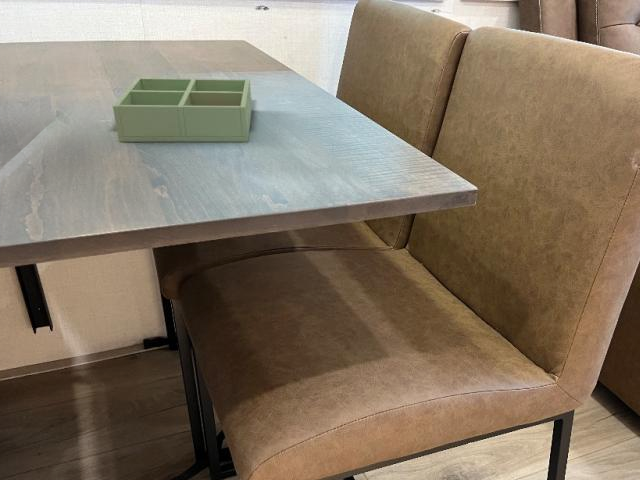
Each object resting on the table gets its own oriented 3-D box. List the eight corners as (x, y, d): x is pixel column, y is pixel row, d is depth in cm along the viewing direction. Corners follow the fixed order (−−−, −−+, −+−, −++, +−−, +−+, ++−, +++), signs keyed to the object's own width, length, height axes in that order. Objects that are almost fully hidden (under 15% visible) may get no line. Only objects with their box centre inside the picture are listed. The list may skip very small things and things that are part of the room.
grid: (119, 141, 74) (112, 106, 72) (141, 108, 86) (136, 77, 84) (247, 141, 76) (245, 107, 74) (251, 109, 88) (249, 79, 86)
